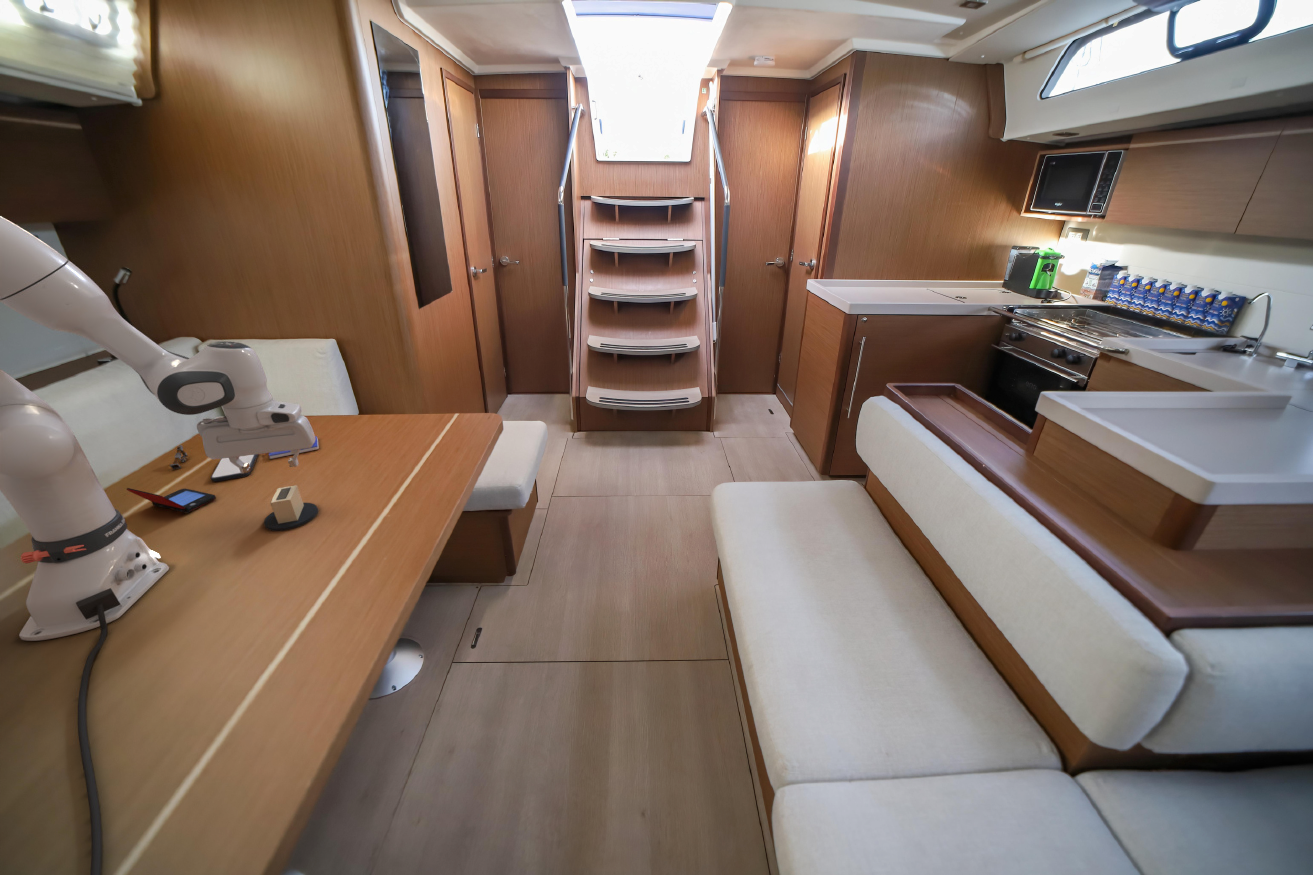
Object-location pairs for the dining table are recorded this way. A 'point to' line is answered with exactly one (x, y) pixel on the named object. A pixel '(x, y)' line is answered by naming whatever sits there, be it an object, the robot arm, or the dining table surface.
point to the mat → (305, 516)
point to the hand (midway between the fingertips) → (270, 468)
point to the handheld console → (178, 499)
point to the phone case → (231, 468)
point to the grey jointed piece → (178, 456)
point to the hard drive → (286, 453)
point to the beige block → (287, 504)
